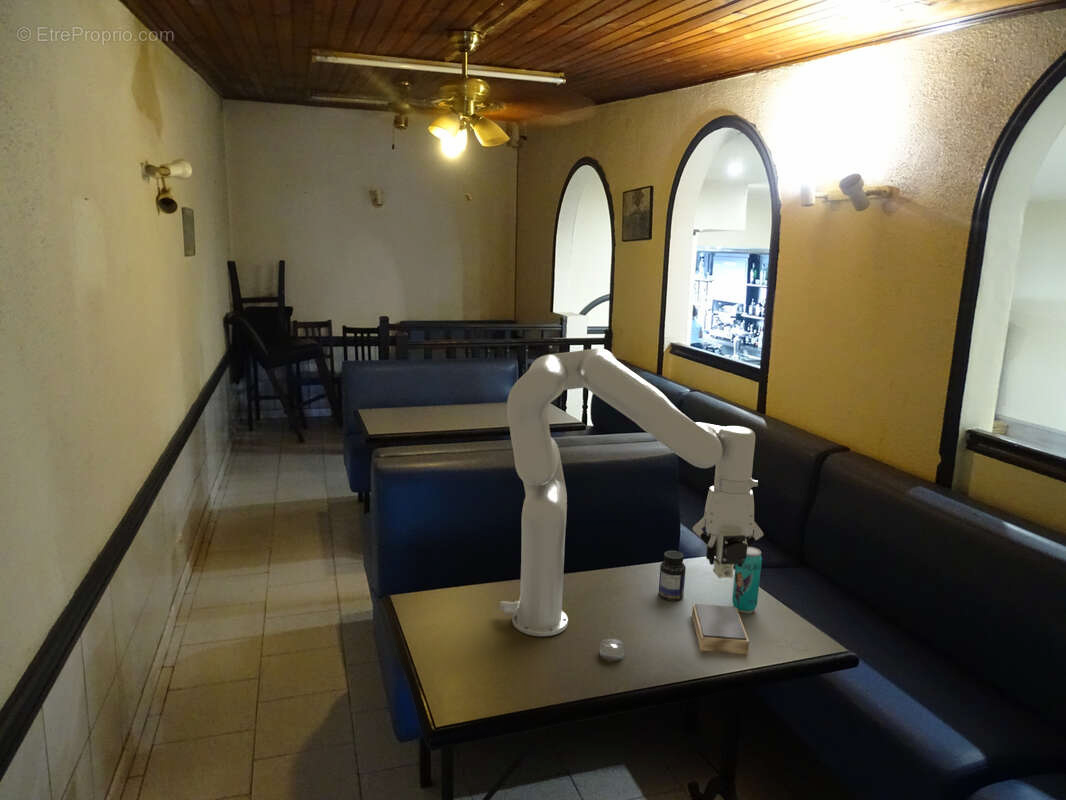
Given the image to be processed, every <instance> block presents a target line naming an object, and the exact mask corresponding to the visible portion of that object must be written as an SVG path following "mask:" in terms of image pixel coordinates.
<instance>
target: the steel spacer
mask: <svg viewBox="0 0 1066 800" xmlns="http://www.w3.org/2000/svg"><path fill="white" fill-rule="evenodd" d="M599 646H600V647H599V656H600V658H601V657H602V658H601V659H603V658H604V659H606V660H610V661H609V662H611V661H617V660H620V659H622V658H623V659H624V657H623V656H625V655H624V654H625V644H624V642H623V641H621V640H620V639H616V638H605V639H603V640H601V641H600V645H599ZM604 659H603V660H604ZM623 659H622V660H623ZM606 660H605V661H606ZM620 661H621V660H620ZM617 662H618V661H617Z"/></svg>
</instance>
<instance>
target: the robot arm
mask: <svg viewBox="0 0 1066 800" xmlns="http://www.w3.org/2000/svg"><path fill="white" fill-rule="evenodd" d="M584 388H585V389H587V390H588V391H589V392H591V393H593V395H595V396H596V397H598V398H599V399H601V400H602V401H604V402H605V403H607V404H608V405H609V406H610V407H612V408H614V409H615V410H616V411H618V412H620V413H621V414H622V415H624V416H626V418H628V419H630V420H631V421H632V422H634V423H636V425H637V426H639V427H640V428H641V429H642V430H644V431H645V432H646V433H648V434H649V435H650V436H652V437H653V438H654V439H656V441H658V442H659V443H660V444H662V445H663V446H665V448H667V449H668V450H670V451H671V452H672V453H674V454H675V455H677V456H678V457H680V458H681V459H683V460H684V461H686V462H687V463H688V464H690V465H692V466H694V467H697V468H700V469H709V468H713V467H714V466H715V470H714V471H715V472H714V484H713V485H712V486H710V487H709V490H708V492H707V497H706V502H705V507H704V514H703V517H702V518H701V519H700V520H699V521H698V522H696V523H695V525H693V527H692V530H693V532H694V533H695V534H696V535H697V536H698V537H699V538H700V539H701V540H702V541H703V543H705V544H706V552H705V553H706V555H705V557H706V560H708V562H709V565H710V566H714V558H716V557H715V547H714V542H715V540H716V538H717V535H718V534H719V531H720V532H734V533H735V532H737V533H742V534H743V535H744V536H745V537H746V538H745V543H746V544H747V545H748V546H747V549H748V547H751V546H752V544H754V543H755V542H756V541H757V540H759V539H761V538H762V537H764V532H763V531H762V529H761V528H760V527H759V526H758V524H757V523H756V521H755V501H754V499H755V498H754V493H753V489H752V488H754V487H758V485H759V481H758V480H757V479H756V480H755V479H753V477H752V475H753V467H754V466H753V465H754V463H753V462H754V454H755V445H756V433H755V431H753V430H752V429H751V428H748V427H745V426H740V425H727V426H725V425H723V426H721V425H718V424H717V425H716V424H711V423H707V422H701V421H700V422H699V421H698V422H695V421H693V420H692V419H691V418H689V417H688V416H687V415H686V414H685V413H683V412H681V410H679V409H678V408H677V407H676V406H675V404H673V403H672V402H671V401H670V400H669V399H668V397H667V396H666V395H665V394H664V393H663V392H662V391H660V389H658V388H657V387H656V386H654V385H653V384H651V383H650V382H648V381H647V379H644V378H643V377H641V376H639V375H638V374H637V373H636V372H634V371H632V370H631V369H629V367H627V366H625V365H624V364H623V363H621V362H620V361H618V360H617V358H616V357H615V355H614V354H613V353H612V352H611V351H609V350H608V349H604V348H590V349H588V348H587V349H582V350H577V351H576V350H574V351H567V352H559V353H552V354H551V353H550V354H544V355H541V356H540V357H538V358H536V359H535V360H534V361H533V362H532V363H531V365H530V366H529V368H528V370H527V371H526V372H525V373H524V374H523V375H521V377H519V379H518V380H516V382H515V383H514V384H513V386H512V387H511V389H510V391H509V394H508V397H507V401H506V402H507V403H506V412H507V421H508V425H509V426H508V427H509V432H510V440H511V446H512V451H513V458H514V465H515V471H516V472H517V475H518V477H519V478H520V479H521V480H522V482H523V487H524V488H523V489H524V493H525V496H524V497H525V498H524V500H523V506H522V512H521V553H520V556H521V558H520V560H521V563H520V591H519V592H520V593H519V599H518V600H514V602H513V601H505V600H504V601H503V600H501V601H500V605H499V607H500V609H499V610H500V611H501V610H502V611H503V614H504V615H512V618H511V619H512V625H513V627H514V628H515V629H517V630H518V631H519V632H520V633H523V634H525V635H529V636H533V637H534V636H535V637H551V636H554V635H558V634H560V633H562V632H563V631H565V630H566V629H567V628H568V625H569V617H568V615H567V613H565V612H564V611H563V609H562V608H563V588H564V567H565V566H564V565H565V546H566V545H565V543H566V540H565V539H566V527H567V513H568V512H567V511H568V510H567V509H568V504H567V503H568V499H567V498H568V494H567V487H566V481H565V477H564V470H563V464H562V460H561V454H560V453H561V452H560V450H559V446H558V444H557V442H556V441H555V439H554V438H553V437H552V436H551V431H550V430H551V429H550V422H549V419H548V417H549V416H548V407H549V406H550V404H551V403H552V402H553V401H555V400H556V399H557V398H559V396H561V395H562V394H563V392H564V391H568V390H576V389H584ZM704 527H705V531H706V532H705V531H703V530H702V529H703V528H704ZM707 533H708V535H707ZM744 561H745V559H743V562H744ZM737 565H738V566H739V567H742V564H737Z"/></svg>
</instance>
